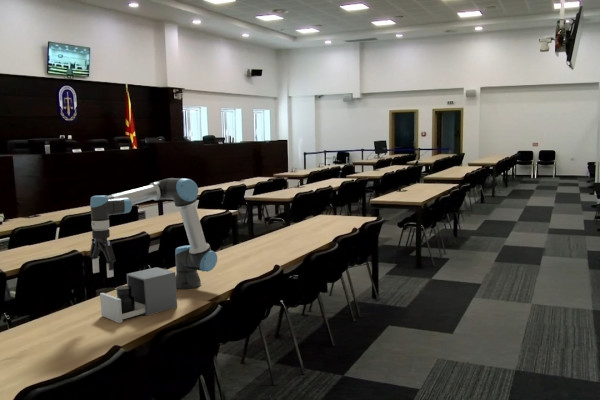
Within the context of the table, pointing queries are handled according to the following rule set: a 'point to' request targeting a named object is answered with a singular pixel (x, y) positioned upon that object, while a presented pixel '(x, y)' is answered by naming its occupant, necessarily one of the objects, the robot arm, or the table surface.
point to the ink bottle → (126, 298)
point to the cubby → (154, 289)
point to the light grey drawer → (117, 308)
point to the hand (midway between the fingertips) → (103, 274)
